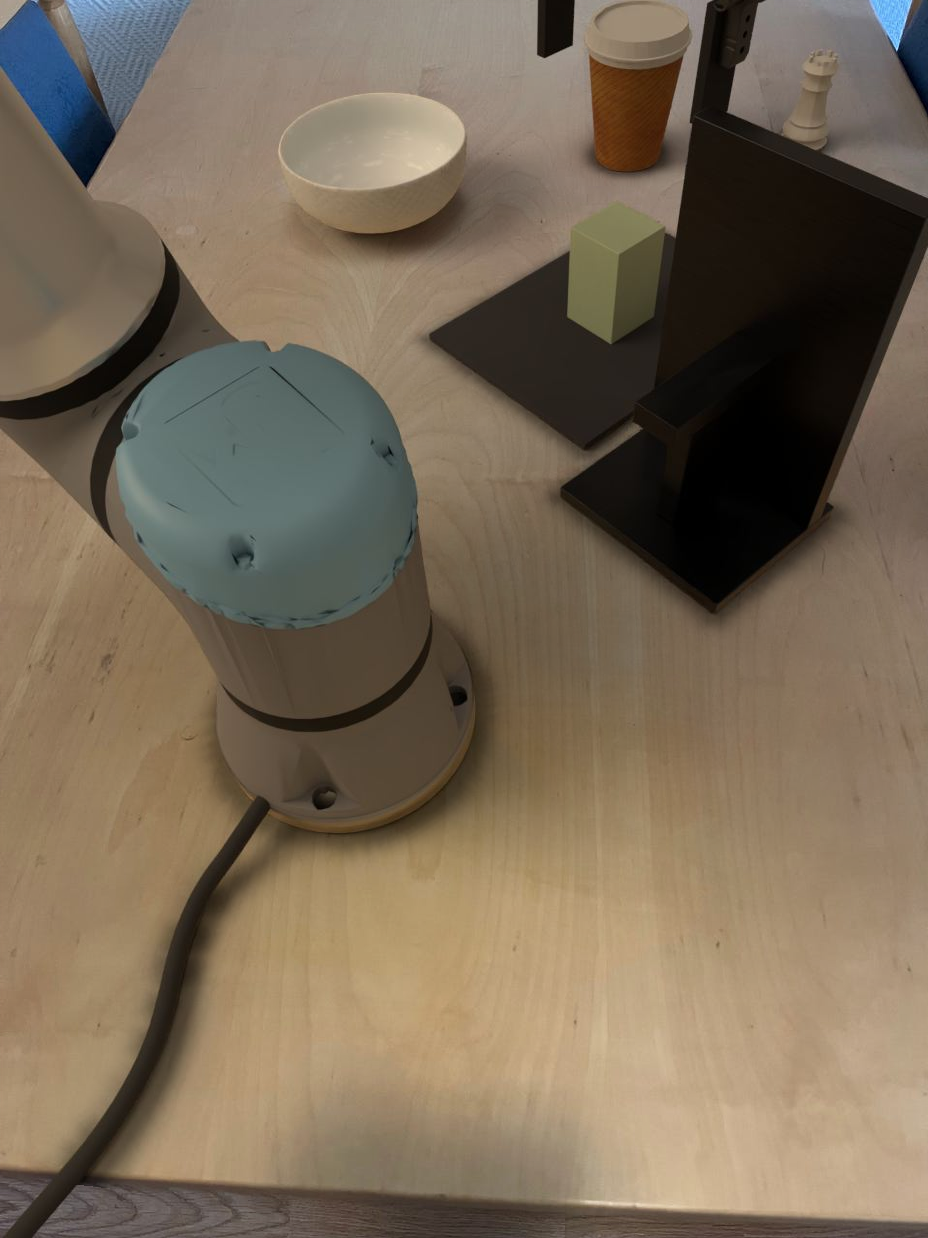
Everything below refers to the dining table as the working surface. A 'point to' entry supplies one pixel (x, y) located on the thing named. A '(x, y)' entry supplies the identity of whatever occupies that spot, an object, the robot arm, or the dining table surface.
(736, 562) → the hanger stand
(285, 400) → the robot arm
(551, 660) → the dining table surface
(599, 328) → the sage block
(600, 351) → the desk mat
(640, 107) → the disposable coffee cup
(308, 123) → the cereal bowl
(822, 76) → the rook chess piece
